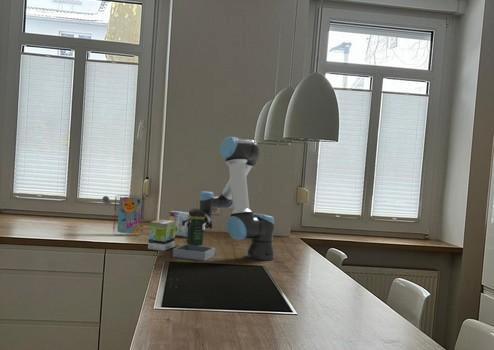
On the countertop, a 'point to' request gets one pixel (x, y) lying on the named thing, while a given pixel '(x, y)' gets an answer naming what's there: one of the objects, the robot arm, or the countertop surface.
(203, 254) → the tray
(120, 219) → the box
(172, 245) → the tea box
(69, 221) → the countertop surface
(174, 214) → the snack box
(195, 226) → the coffee jar
